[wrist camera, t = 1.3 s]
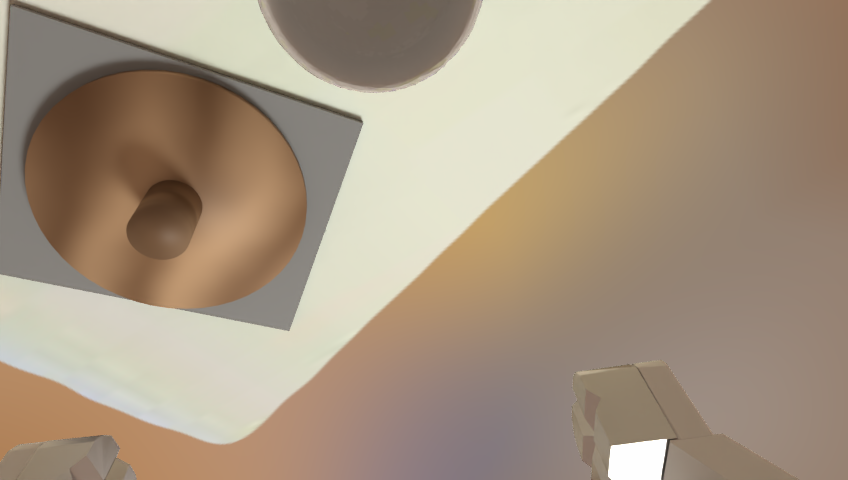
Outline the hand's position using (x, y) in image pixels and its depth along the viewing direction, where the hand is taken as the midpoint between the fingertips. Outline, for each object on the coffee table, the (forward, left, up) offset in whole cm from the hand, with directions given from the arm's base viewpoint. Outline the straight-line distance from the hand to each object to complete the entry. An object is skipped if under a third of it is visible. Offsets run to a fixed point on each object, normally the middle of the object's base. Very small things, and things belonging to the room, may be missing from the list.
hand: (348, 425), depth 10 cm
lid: (-7, -12, -28) cm, 31 cm away
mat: (-7, -12, -28) cm, 32 cm away
